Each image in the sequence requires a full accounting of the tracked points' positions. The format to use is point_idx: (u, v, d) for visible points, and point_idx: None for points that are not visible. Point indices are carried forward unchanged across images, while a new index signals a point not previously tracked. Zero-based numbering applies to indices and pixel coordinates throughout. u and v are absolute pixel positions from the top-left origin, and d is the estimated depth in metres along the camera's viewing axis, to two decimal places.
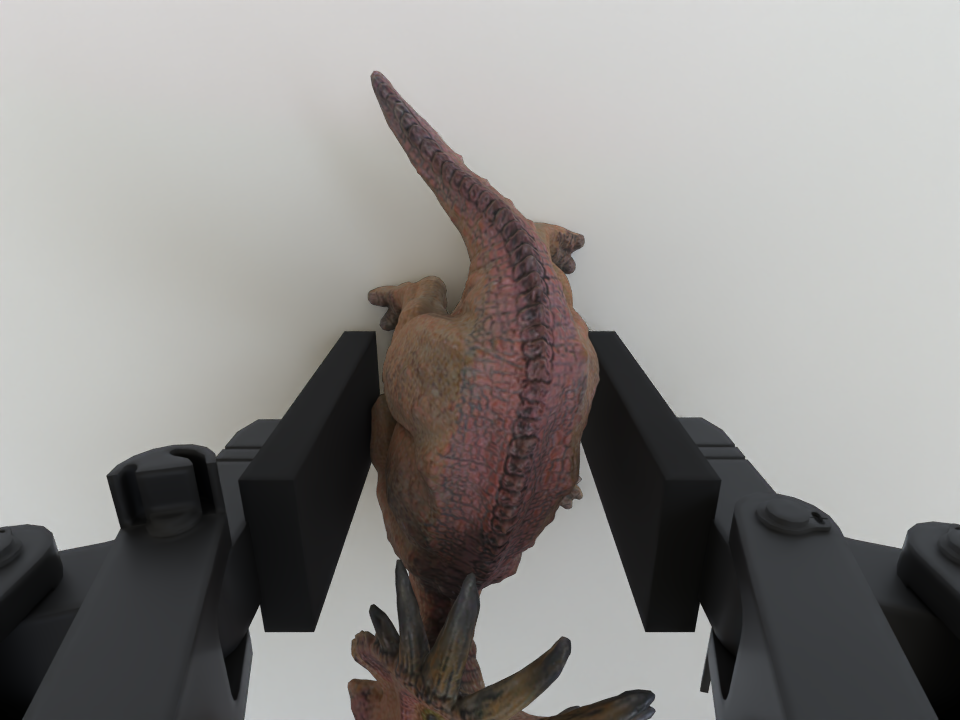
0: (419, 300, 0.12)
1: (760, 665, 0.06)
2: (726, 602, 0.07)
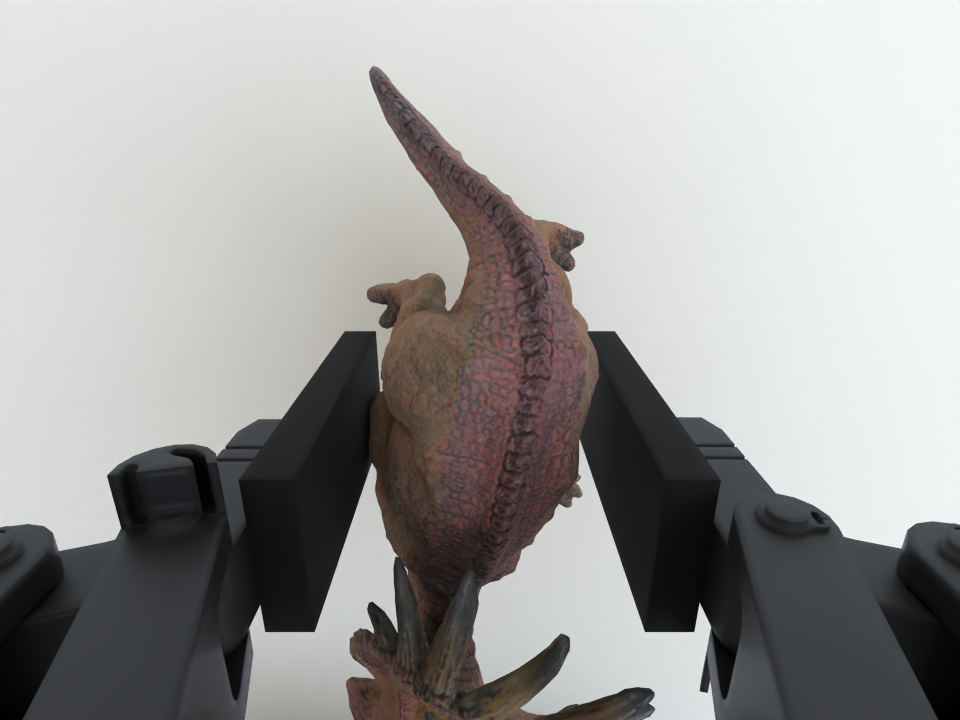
0: (418, 297, 0.12)
1: (759, 665, 0.06)
2: (725, 602, 0.07)
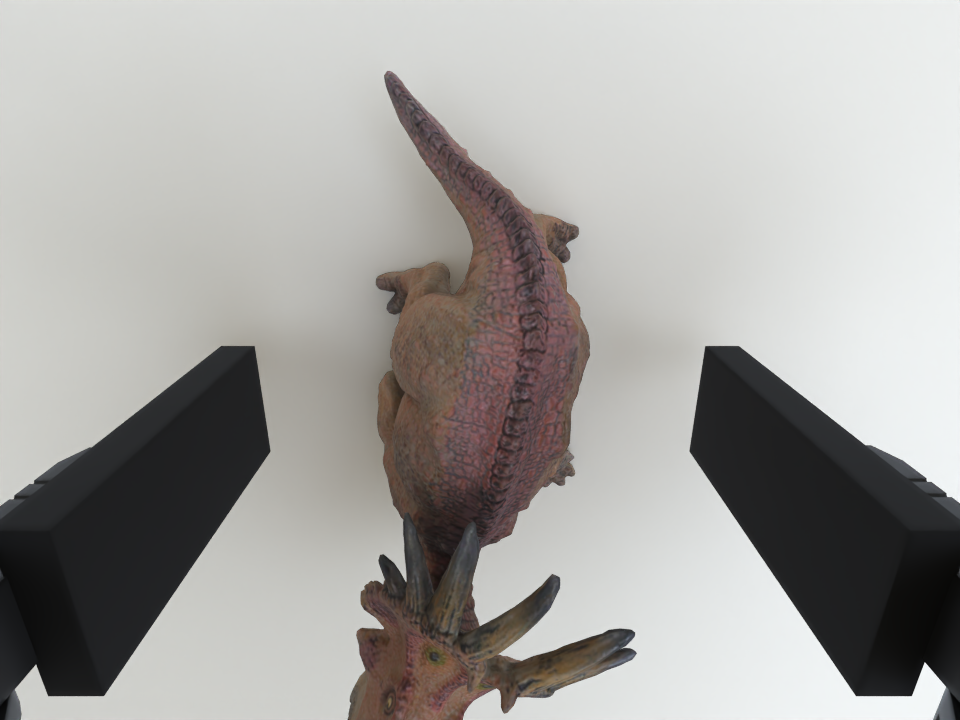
0: (425, 283, 0.13)
1: None
2: None
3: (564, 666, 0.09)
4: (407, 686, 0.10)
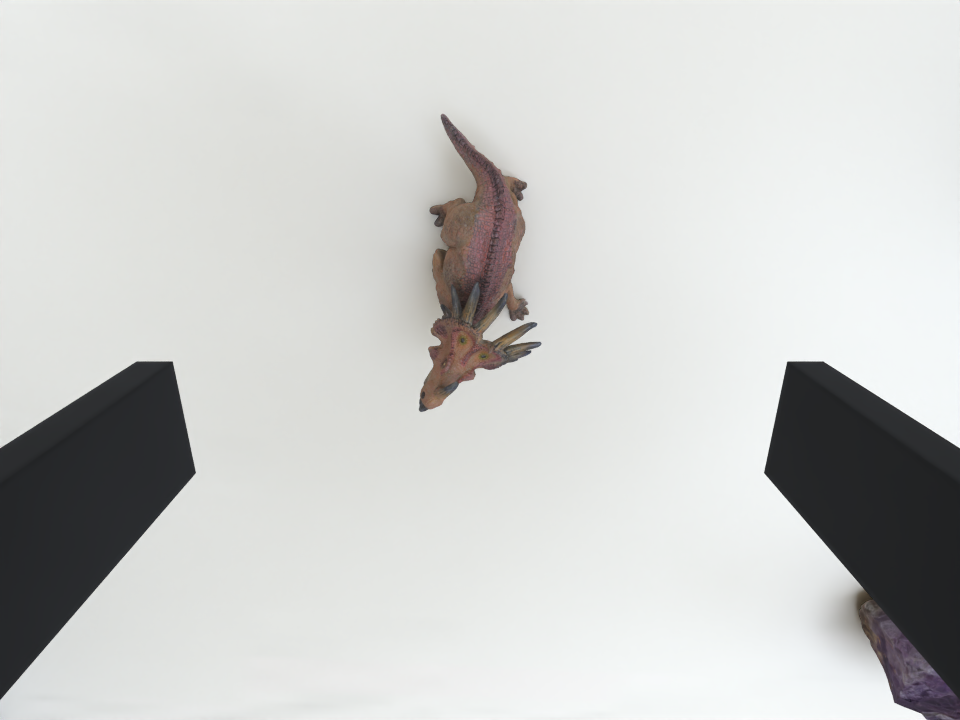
0: (456, 204, 0.29)
1: None
2: None
3: (511, 335, 0.26)
4: (451, 354, 0.27)
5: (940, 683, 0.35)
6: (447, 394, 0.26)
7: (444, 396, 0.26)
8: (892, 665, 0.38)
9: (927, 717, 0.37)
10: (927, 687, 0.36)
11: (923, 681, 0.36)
